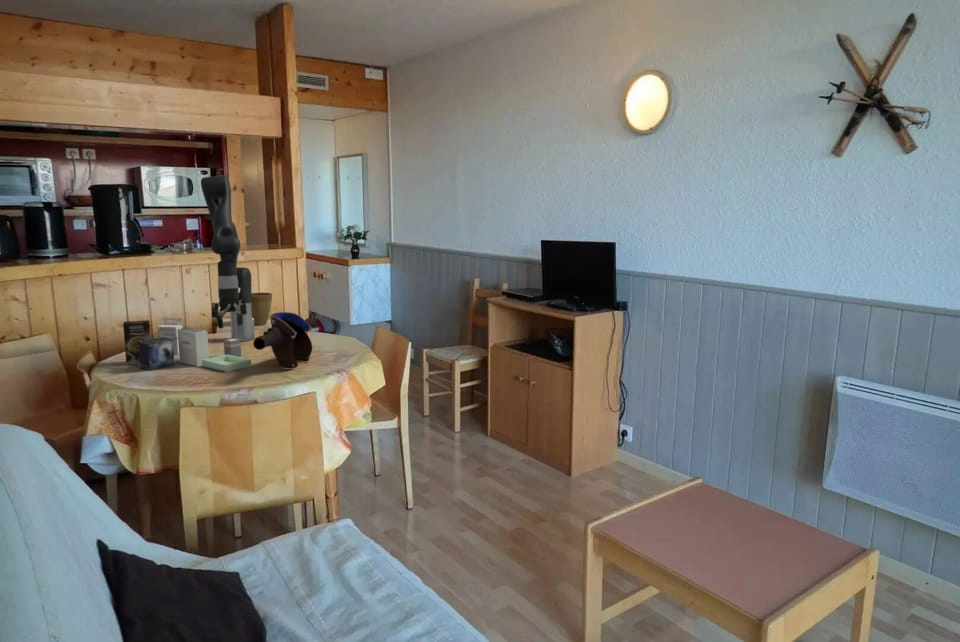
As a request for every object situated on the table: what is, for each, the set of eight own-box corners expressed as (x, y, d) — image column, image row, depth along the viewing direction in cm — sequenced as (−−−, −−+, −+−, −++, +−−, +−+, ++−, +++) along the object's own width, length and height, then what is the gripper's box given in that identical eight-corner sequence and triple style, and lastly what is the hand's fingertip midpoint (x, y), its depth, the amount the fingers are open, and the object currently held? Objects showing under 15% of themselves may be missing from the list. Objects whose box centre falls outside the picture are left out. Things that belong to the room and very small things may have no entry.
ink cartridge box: (158, 354, 263) (155, 319, 260) (165, 351, 268) (162, 317, 265) (177, 354, 262) (175, 319, 259) (184, 352, 267) (182, 317, 264)
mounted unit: (193, 359, 255) (190, 326, 252) (210, 363, 248) (208, 329, 246) (179, 362, 250) (176, 328, 247) (196, 366, 243) (194, 332, 241)
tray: (227, 360, 252) (227, 354, 252) (251, 366, 244) (251, 359, 244) (202, 366, 243) (201, 359, 243) (226, 372, 235) (225, 365, 235)
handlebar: (276, 380, 225) (274, 324, 221) (243, 378, 227) (240, 323, 223) (328, 353, 268) (327, 306, 264) (300, 351, 270) (298, 304, 267)
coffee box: (126, 365, 244) (122, 323, 241) (126, 361, 250) (122, 321, 247) (152, 362, 248) (149, 322, 245) (152, 359, 254) (149, 319, 251)
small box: (149, 371, 236) (146, 343, 234) (139, 368, 239) (136, 341, 237) (175, 365, 244) (173, 338, 243) (165, 363, 248) (163, 336, 246)
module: (234, 355, 262) (233, 338, 261) (241, 356, 260) (240, 339, 259) (224, 357, 259) (223, 339, 257) (231, 358, 256) (230, 341, 255)
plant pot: (278, 322, 337) (277, 292, 335) (265, 327, 323) (264, 296, 320) (251, 321, 339) (250, 291, 336) (237, 326, 325) (236, 295, 322)
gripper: (238, 284, 262) (240, 323, 265) (206, 287, 251) (208, 328, 253) (249, 286, 258) (251, 325, 261) (217, 289, 246) (219, 330, 249)
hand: (230, 326), depth 257 cm, fingers open, 8 cm apart
